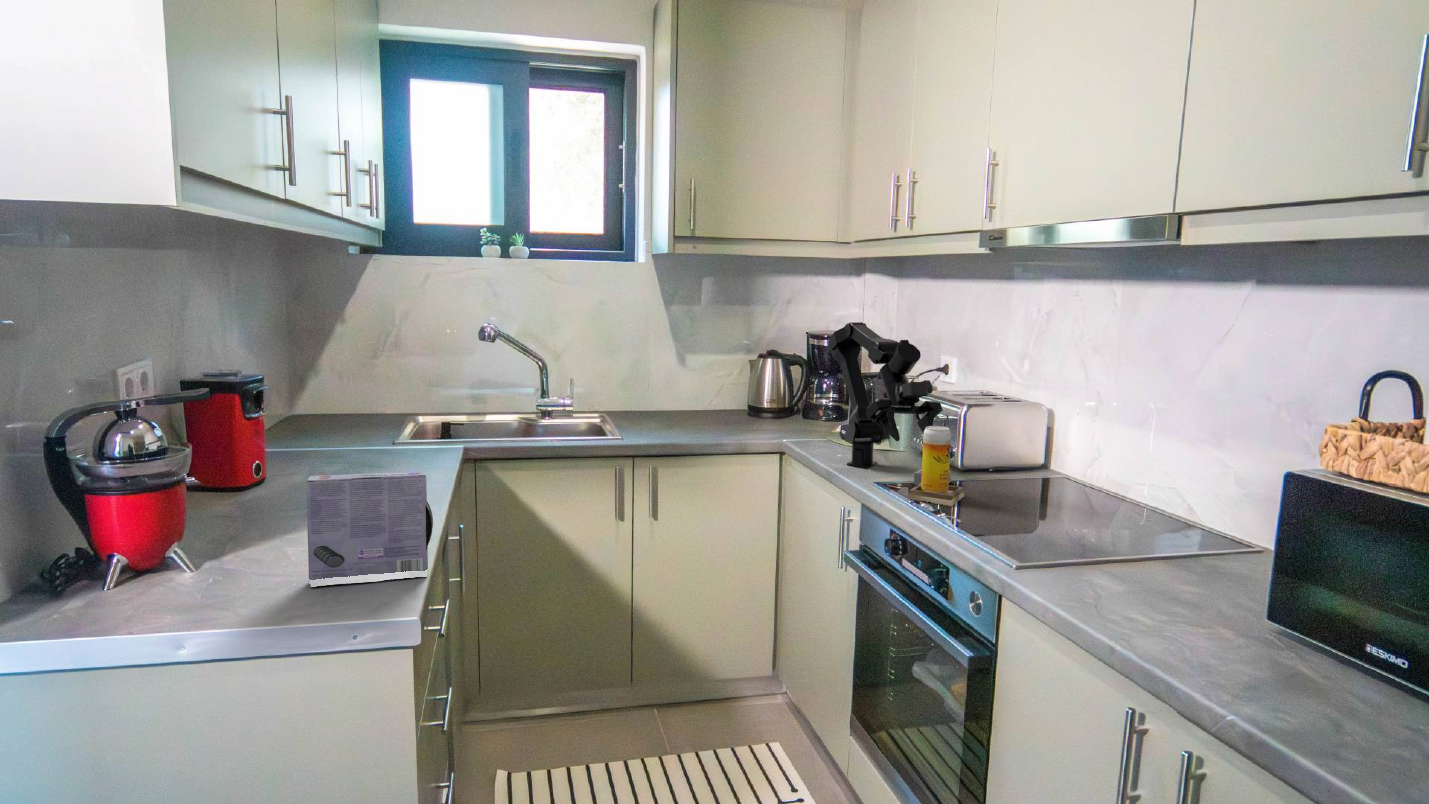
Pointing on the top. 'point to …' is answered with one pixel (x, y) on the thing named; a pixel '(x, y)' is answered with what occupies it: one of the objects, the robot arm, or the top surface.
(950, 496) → the shallow wooden tray
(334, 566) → the cake pan box
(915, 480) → the button console
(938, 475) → the beer can
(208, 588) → the top surface
